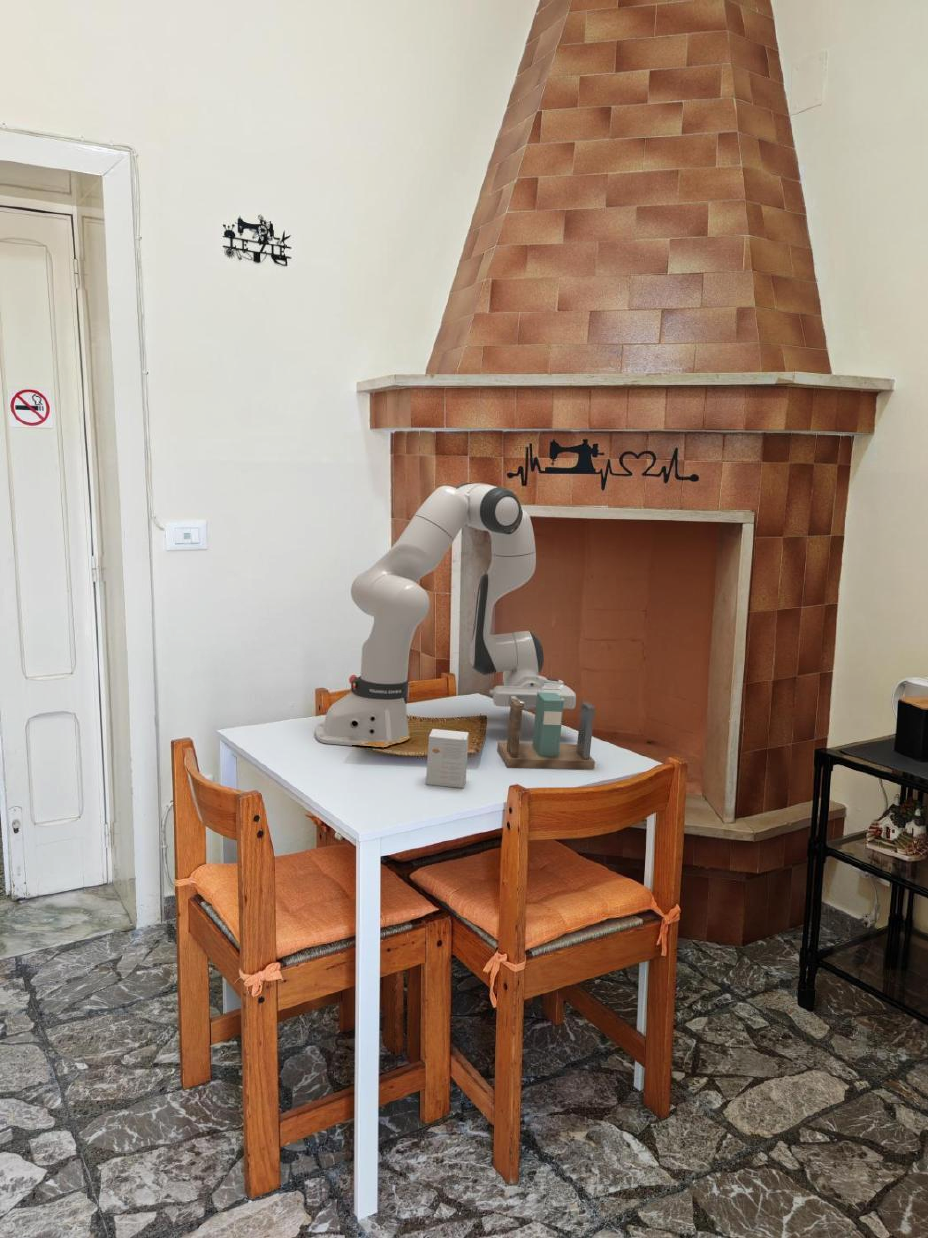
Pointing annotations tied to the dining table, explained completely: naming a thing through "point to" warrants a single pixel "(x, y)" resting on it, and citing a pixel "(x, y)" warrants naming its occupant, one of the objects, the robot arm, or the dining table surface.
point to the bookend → (585, 730)
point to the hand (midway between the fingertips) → (540, 706)
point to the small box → (447, 758)
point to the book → (547, 724)
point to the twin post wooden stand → (527, 756)
